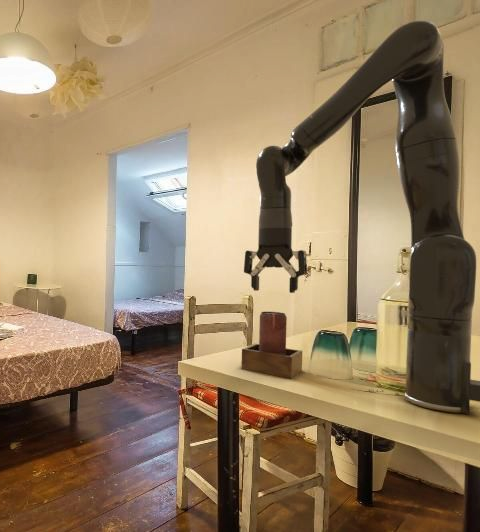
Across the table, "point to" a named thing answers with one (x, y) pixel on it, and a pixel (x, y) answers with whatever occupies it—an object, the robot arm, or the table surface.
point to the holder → (272, 362)
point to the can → (272, 333)
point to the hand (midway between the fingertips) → (273, 291)
